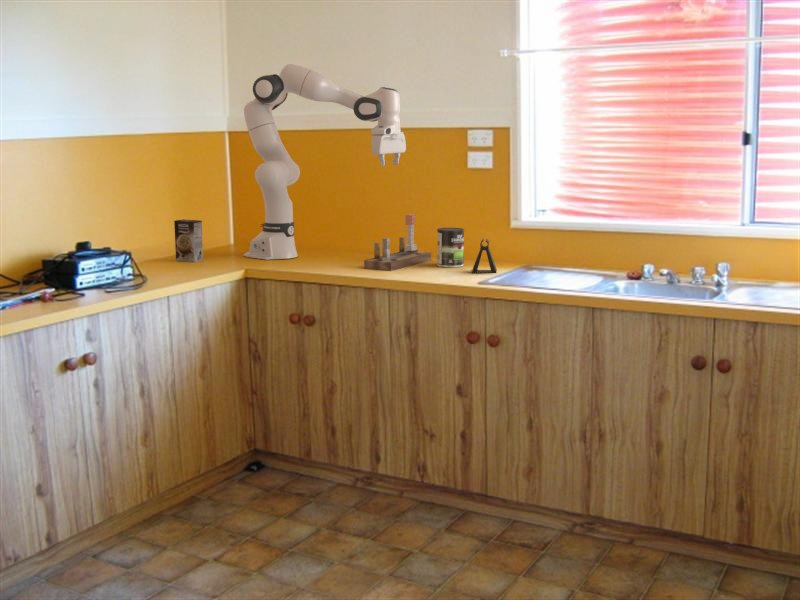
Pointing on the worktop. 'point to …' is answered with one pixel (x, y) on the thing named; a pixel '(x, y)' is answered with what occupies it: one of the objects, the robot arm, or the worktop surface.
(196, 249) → the coffee box
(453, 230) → the coffee can
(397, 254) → the bolt plate
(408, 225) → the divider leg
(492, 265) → the black clip stand
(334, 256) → the worktop surface
